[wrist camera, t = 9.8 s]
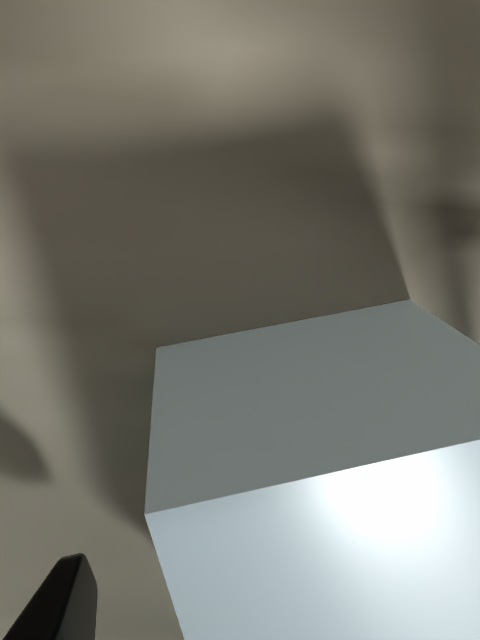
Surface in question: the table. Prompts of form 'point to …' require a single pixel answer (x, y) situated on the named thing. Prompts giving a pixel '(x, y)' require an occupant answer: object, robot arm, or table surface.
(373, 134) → the table surface
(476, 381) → the pale blue carton
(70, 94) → the table surface
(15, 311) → the table surface
